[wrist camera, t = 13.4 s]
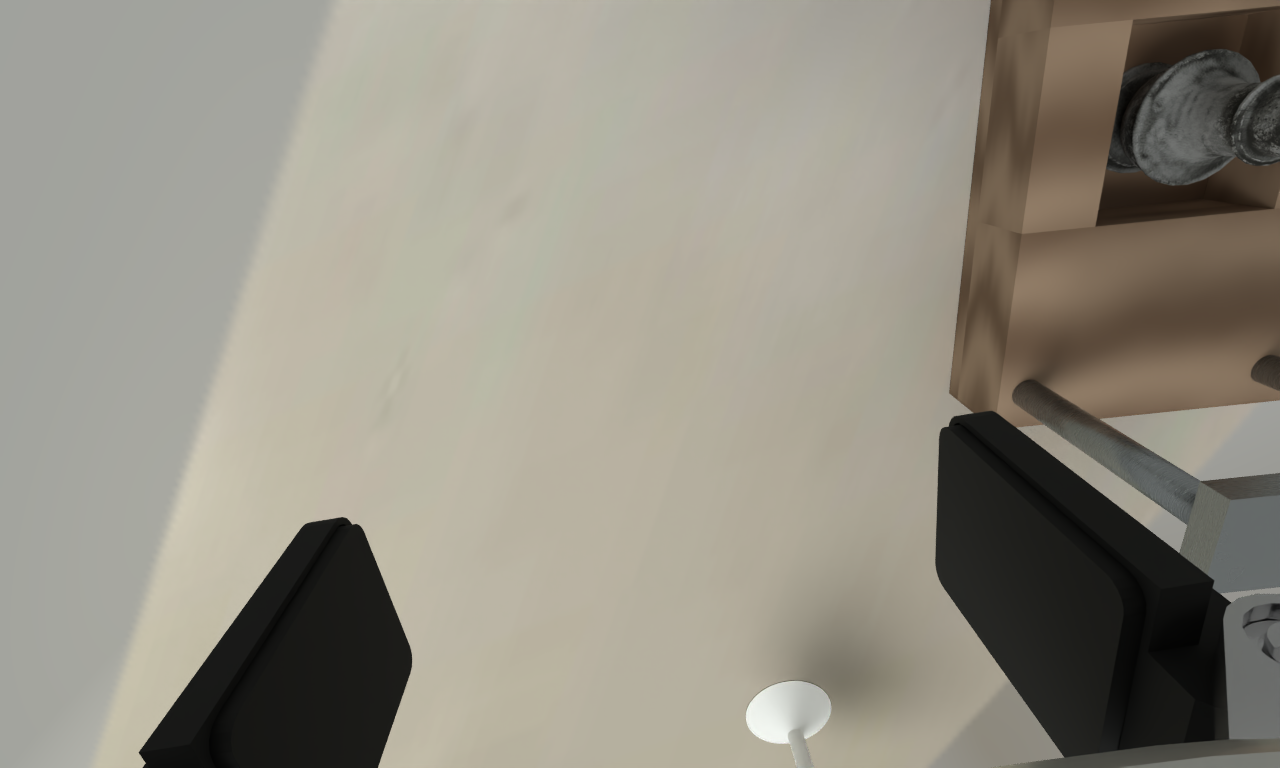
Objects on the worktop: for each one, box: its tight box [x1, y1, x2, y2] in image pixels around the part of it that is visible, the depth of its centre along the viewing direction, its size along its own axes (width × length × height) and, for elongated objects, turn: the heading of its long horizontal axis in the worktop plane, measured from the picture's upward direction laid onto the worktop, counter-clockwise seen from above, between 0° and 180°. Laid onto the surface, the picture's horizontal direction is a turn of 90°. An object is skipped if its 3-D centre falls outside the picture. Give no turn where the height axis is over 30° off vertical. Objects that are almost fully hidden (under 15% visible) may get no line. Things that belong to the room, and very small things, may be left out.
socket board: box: [949, 0, 1280, 427], centre depth 33 cm, size 24×16×5 cm, turn 5°
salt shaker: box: [1106, 49, 1280, 186], centre depth 28 cm, size 6×6×12 cm
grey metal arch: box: [1012, 355, 1280, 593], centre depth 28 cm, size 4×16×13 cm, turn 95°
